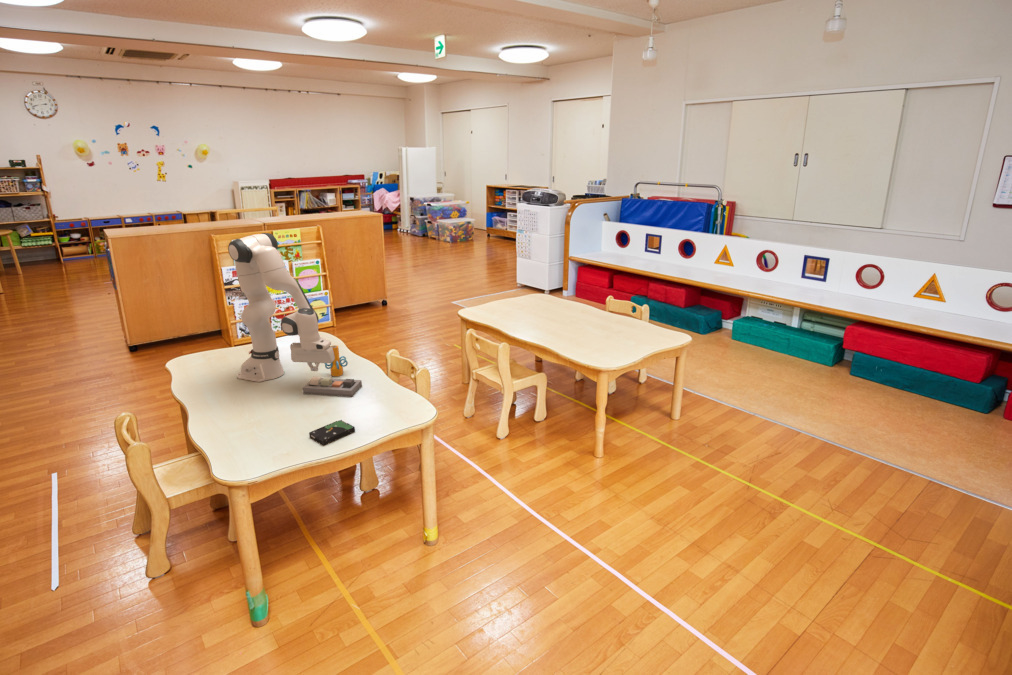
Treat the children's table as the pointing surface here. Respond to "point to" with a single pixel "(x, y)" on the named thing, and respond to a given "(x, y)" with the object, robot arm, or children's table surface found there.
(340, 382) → the key terracotta
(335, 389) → the keyboard
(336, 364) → the orange and blue toy
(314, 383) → the key white
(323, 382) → the key sage
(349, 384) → the key charcoal
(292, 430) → the children's table surface
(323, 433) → the disk drive
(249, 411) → the children's table surface
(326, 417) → the children's table surface
